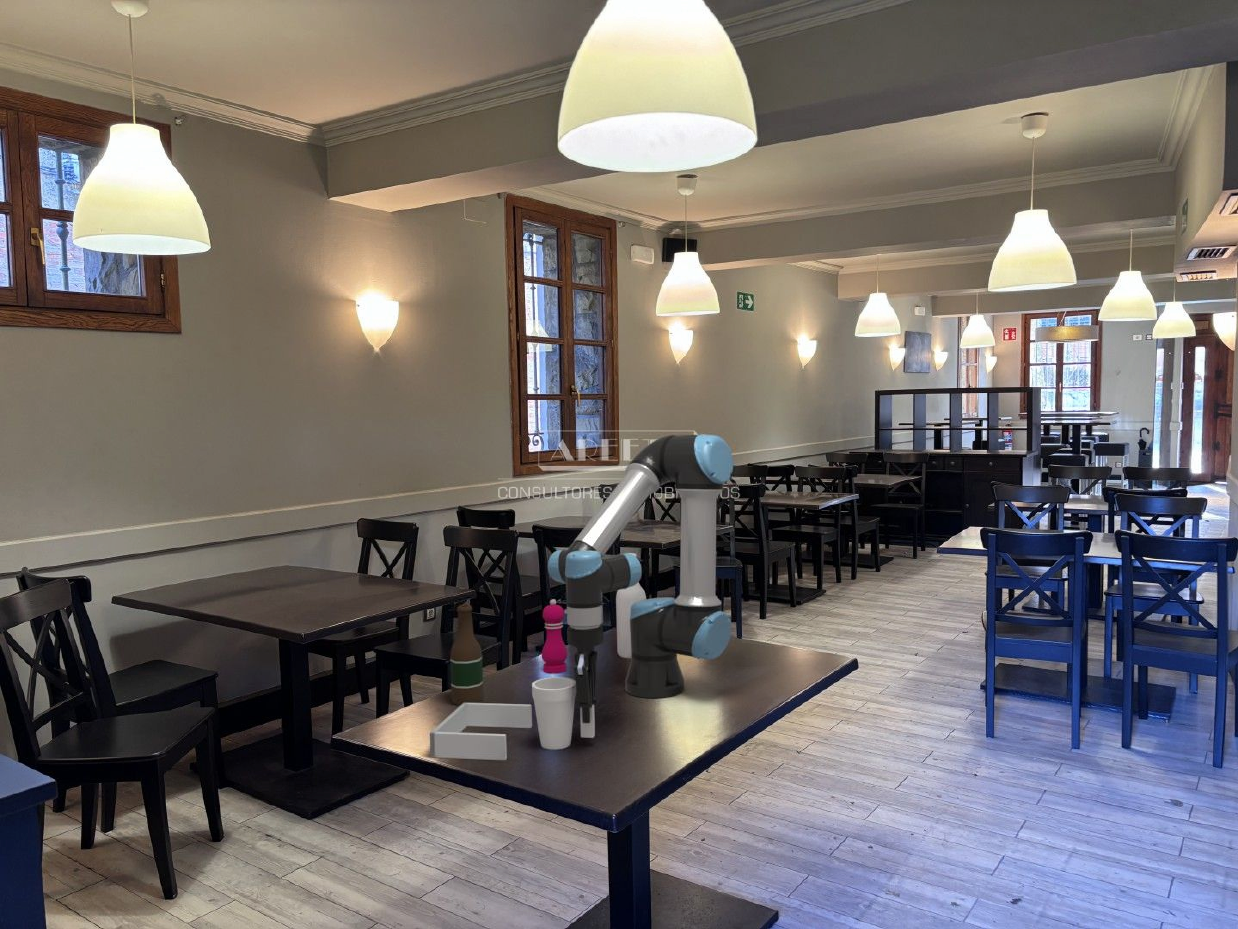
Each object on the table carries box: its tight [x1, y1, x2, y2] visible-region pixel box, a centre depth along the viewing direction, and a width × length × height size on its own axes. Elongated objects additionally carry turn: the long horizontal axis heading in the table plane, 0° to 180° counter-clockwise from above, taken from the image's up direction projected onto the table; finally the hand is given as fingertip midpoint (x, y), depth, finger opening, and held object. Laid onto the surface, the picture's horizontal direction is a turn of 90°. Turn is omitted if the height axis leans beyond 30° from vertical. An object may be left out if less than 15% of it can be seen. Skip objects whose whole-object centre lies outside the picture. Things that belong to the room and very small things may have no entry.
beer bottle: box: [449, 604, 484, 707], centre depth 212 cm, size 8×8×24 cm
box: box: [429, 702, 533, 761], centre depth 185 cm, size 16×20×5 cm
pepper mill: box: [541, 598, 568, 674], centre depth 238 cm, size 7×7×20 cm
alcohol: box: [615, 552, 647, 659], centre depth 252 cm, size 9×9×30 cm
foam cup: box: [531, 676, 577, 751], centre depth 182 cm, size 10×9×13 cm
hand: (587, 736), depth 181 cm, fingers closed
